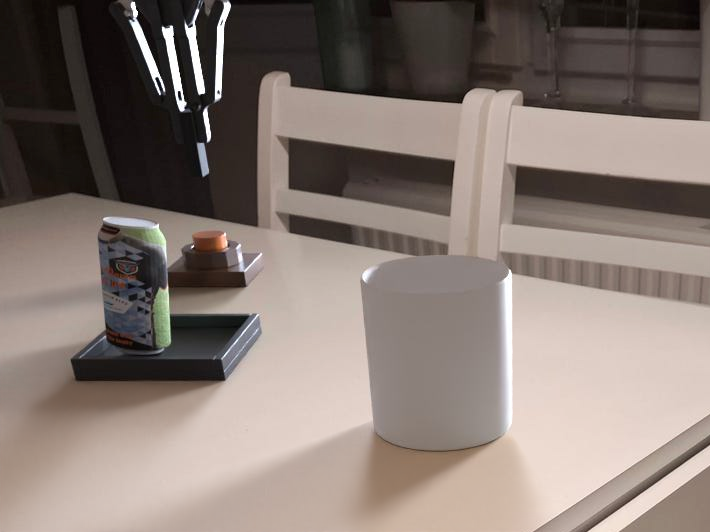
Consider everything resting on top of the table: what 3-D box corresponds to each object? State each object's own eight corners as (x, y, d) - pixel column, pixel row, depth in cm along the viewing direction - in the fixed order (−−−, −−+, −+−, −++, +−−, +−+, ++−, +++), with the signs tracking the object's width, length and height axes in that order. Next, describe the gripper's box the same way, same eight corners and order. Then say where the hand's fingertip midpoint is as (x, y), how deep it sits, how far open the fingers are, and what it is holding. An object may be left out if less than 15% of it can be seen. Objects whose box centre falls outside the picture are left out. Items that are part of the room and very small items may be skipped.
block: (165, 287, 122) (159, 255, 119) (187, 267, 129) (181, 238, 126) (246, 286, 121) (241, 255, 119) (264, 267, 128) (259, 237, 126)
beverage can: (101, 350, 100) (69, 218, 93) (171, 336, 103) (145, 207, 96) (123, 366, 96) (91, 229, 89) (196, 351, 99) (170, 218, 92)
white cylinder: (409, 393, 91) (399, 250, 84) (530, 407, 87) (532, 259, 80) (349, 441, 82) (333, 287, 75) (482, 459, 79) (478, 299, 72)
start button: (190, 254, 121) (187, 238, 120) (200, 246, 125) (197, 230, 123) (222, 253, 121) (220, 238, 120) (231, 245, 124) (229, 230, 123)
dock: (75, 380, 96) (69, 359, 95) (127, 333, 107) (123, 313, 106) (225, 380, 95) (221, 359, 94) (262, 332, 106) (259, 313, 105)
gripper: (225, -85, 106) (261, 168, 120) (105, -80, 107) (156, 170, 121) (205, -86, 100) (246, 180, 114) (78, -81, 101) (135, 182, 115)
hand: (199, 175), depth 118 cm, fingers closed
